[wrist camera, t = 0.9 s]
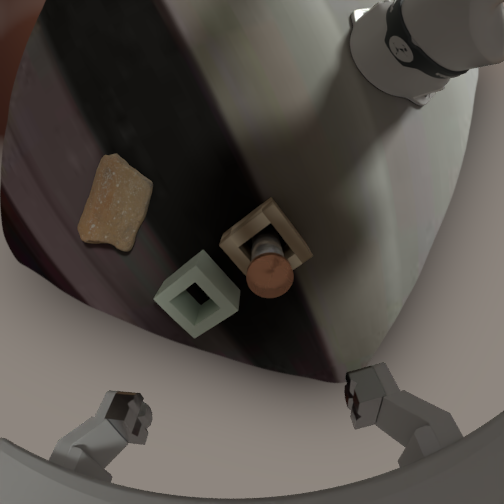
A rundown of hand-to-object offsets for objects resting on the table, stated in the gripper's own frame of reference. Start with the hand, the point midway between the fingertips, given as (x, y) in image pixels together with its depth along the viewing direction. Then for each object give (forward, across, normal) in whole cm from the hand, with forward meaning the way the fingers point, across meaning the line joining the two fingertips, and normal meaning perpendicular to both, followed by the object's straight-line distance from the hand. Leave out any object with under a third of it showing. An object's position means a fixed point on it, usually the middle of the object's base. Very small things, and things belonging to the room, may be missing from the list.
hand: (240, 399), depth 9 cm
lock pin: (+32, -2, +4) cm, 33 cm away
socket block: (+33, +10, +11) cm, 36 cm away
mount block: (+32, -2, +4) cm, 33 cm away
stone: (+33, +21, -5) cm, 40 cm away
